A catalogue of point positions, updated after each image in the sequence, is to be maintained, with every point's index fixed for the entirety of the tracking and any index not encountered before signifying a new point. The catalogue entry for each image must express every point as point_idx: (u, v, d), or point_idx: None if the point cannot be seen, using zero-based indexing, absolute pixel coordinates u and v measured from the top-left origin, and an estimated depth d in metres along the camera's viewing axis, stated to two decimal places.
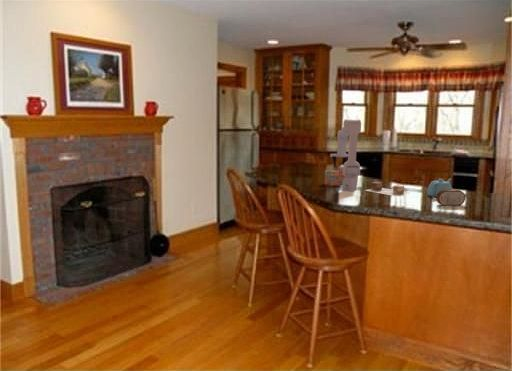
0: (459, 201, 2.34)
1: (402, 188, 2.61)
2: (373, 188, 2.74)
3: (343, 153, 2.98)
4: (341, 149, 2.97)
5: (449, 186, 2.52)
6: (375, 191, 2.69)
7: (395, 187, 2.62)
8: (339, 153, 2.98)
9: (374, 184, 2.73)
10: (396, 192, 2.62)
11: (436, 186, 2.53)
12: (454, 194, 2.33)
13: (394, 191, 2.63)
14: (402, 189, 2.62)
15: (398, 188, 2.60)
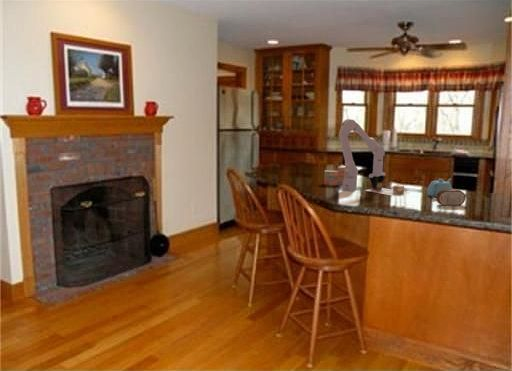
0: (459, 201, 2.34)
1: (402, 188, 2.61)
2: None
3: None
4: None
5: (449, 186, 2.52)
6: (375, 191, 2.69)
7: (395, 187, 2.62)
8: None
9: None
10: (396, 192, 2.62)
11: (436, 186, 2.53)
12: (454, 194, 2.33)
13: (394, 191, 2.63)
14: (402, 189, 2.62)
15: (398, 188, 2.60)
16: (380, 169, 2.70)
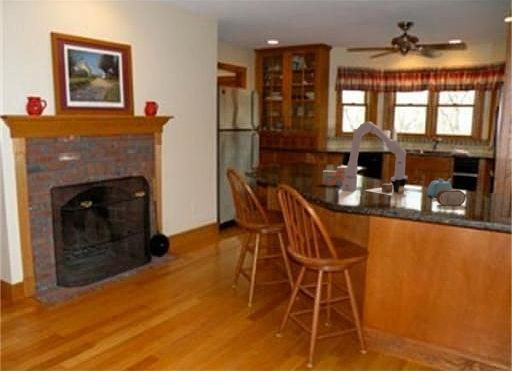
0: (459, 201, 2.34)
1: (402, 188, 2.61)
2: (383, 190, 2.68)
3: None
4: None
5: (449, 186, 2.52)
6: (375, 191, 2.69)
7: None
8: None
9: (385, 186, 2.68)
10: None
11: (436, 186, 2.53)
12: (454, 194, 2.33)
13: None
14: (402, 189, 2.62)
15: None
16: (402, 172, 2.59)
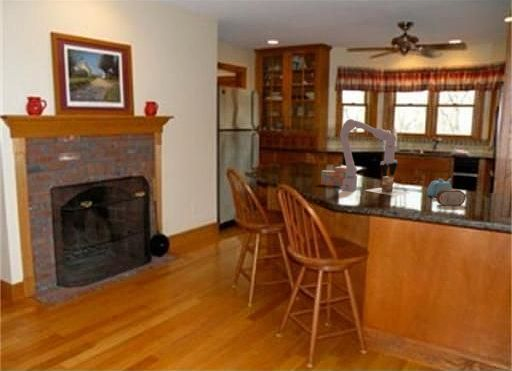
0: (459, 201, 2.34)
1: (391, 179, 2.66)
2: (383, 190, 2.68)
3: None
4: None
5: (449, 186, 2.52)
6: (375, 191, 2.69)
7: (385, 178, 2.67)
8: None
9: (385, 186, 2.68)
10: (385, 183, 2.67)
11: (436, 186, 2.53)
12: (454, 194, 2.33)
13: (384, 182, 2.68)
14: (391, 180, 2.67)
15: (388, 179, 2.65)
16: (392, 156, 2.63)
